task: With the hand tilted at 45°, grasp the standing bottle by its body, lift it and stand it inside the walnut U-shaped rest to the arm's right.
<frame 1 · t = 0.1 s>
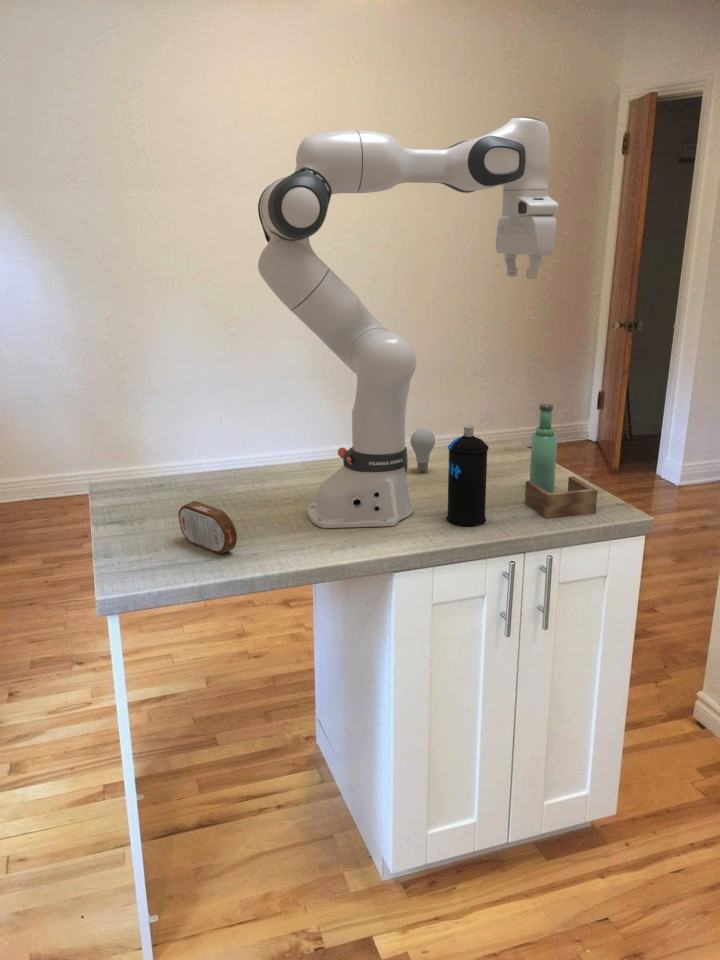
hand: (521, 277, 162), 48 cm above the table, tool pointing down, fingers open, 8 cm apart
aerosol can: (466, 520, 164), on the table
u rest: (558, 506, 170), on the table
lightbulb: (422, 472, 197), on the table
bottle: (541, 489, 182), on the table
tin: (207, 548, 152), on the table
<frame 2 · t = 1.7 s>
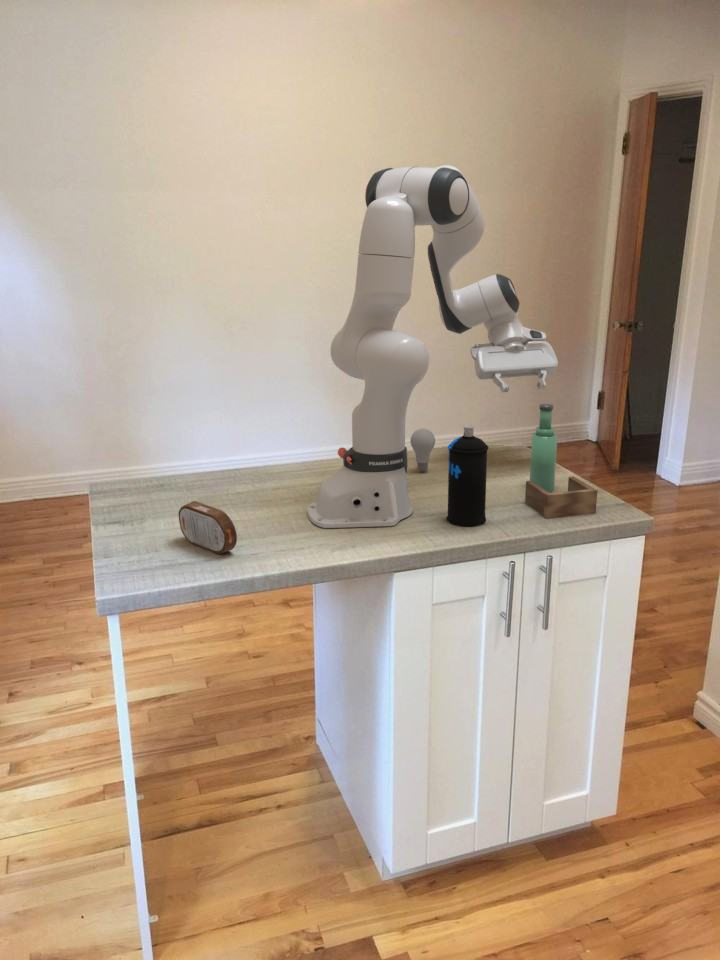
hand: (524, 389, 187), 21 cm above the table, tool tilted 45°, fingers open, 8 cm apart
nothing on the table moved.
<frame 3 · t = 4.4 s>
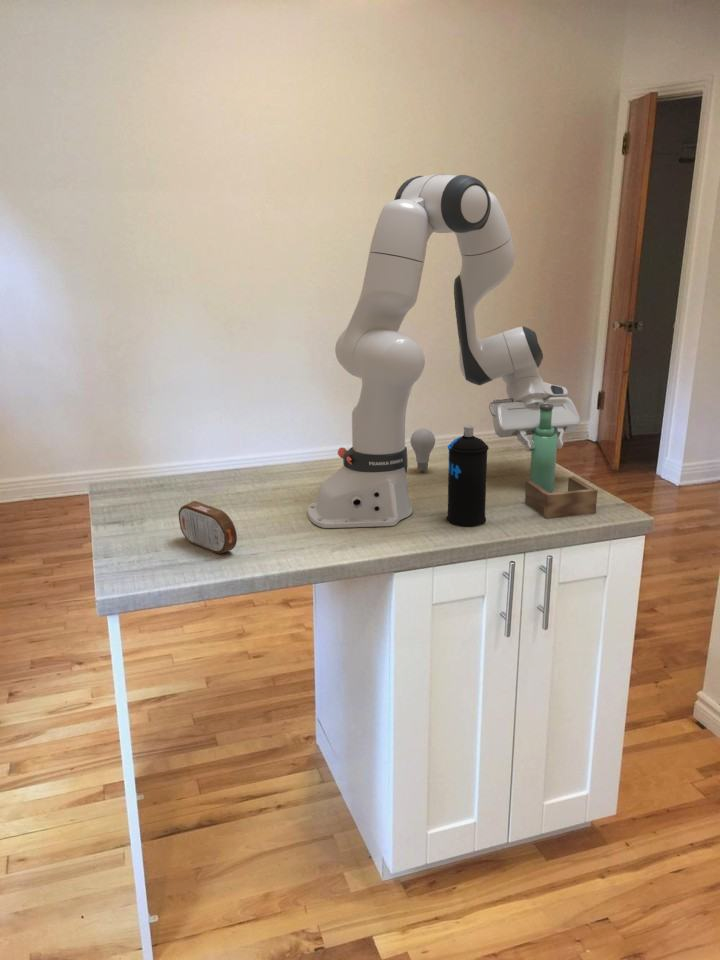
hand: (545, 448, 178), 10 cm above the table, tool tilted 45°, fingers closed on bottle, 6 cm apart
bottle: (541, 489, 182), on the table, touching gripper
everything else where it was.
when the fingers open (11 cm above the table, at t = 9.3 s): bottle drops 1 cm, on the table.
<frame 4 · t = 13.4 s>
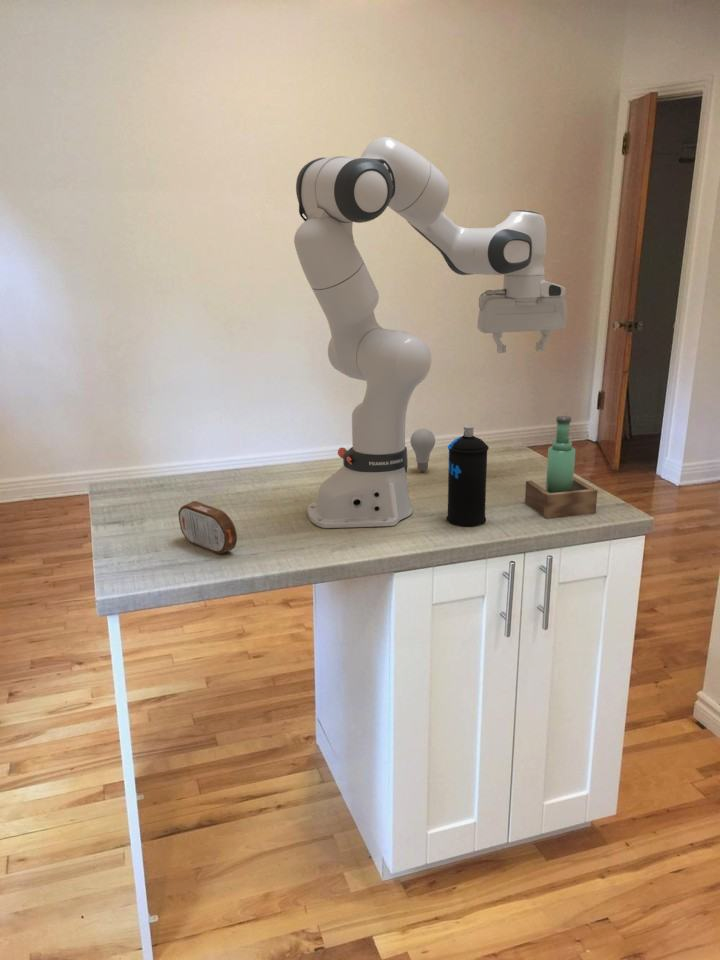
hand: (520, 351, 177), 31 cm above the table, tool pointing down, fingers open, 8 cm apart
bottle: (558, 506, 170), on the table
everything else where it was.
at the end: bottle 0.1 cm off-centre on the u rest, point 0.0 cm above the u rest's base; bottle tilted 0°; the gripper is holding nothing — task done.
